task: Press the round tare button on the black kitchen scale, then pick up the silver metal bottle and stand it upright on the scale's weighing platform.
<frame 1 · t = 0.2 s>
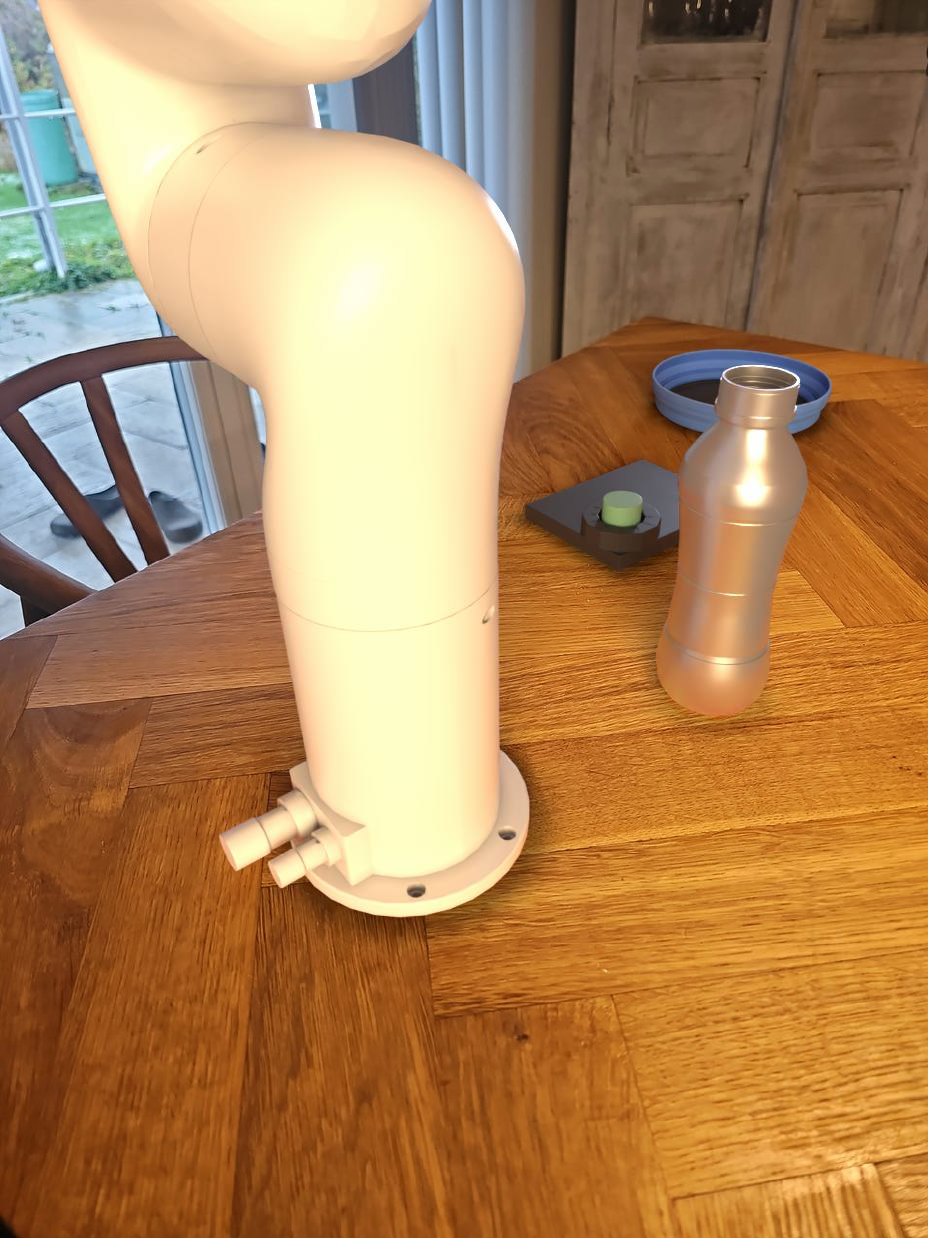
tare button: (621, 509, 65), point 4 cm above the table, slide at 0.1 cm
silver metal bottle: (705, 696, 53), on the table
scale: (631, 517, 71), on the table
bowl: (735, 410, 90), on the table
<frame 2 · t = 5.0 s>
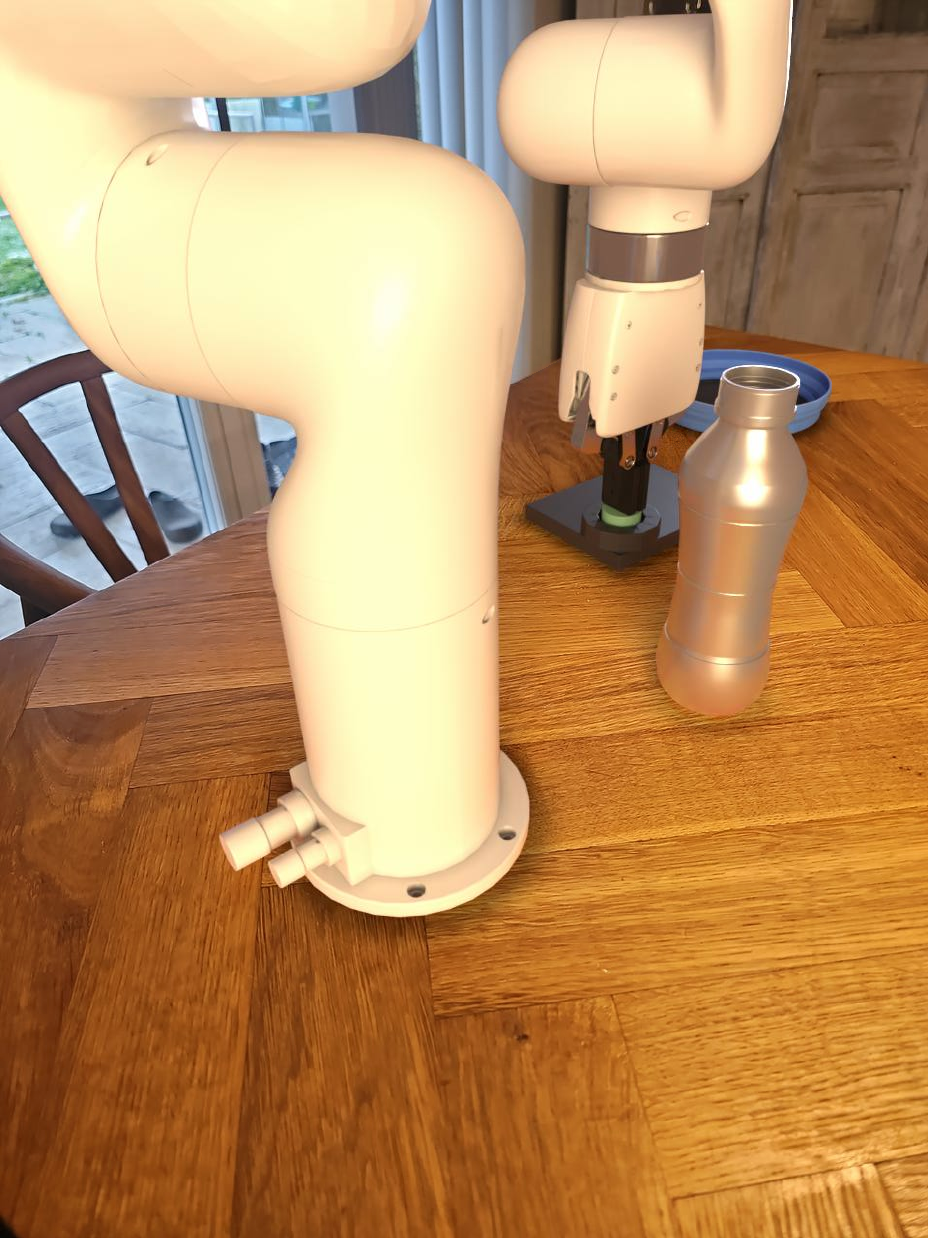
hand: (623, 506, 65), 4 cm above the table, tool pointing down, fingers closed
tare button: (621, 517, 66), point 3 cm above the table, slide at -0.6 cm, touching gripper
everything else where it was.
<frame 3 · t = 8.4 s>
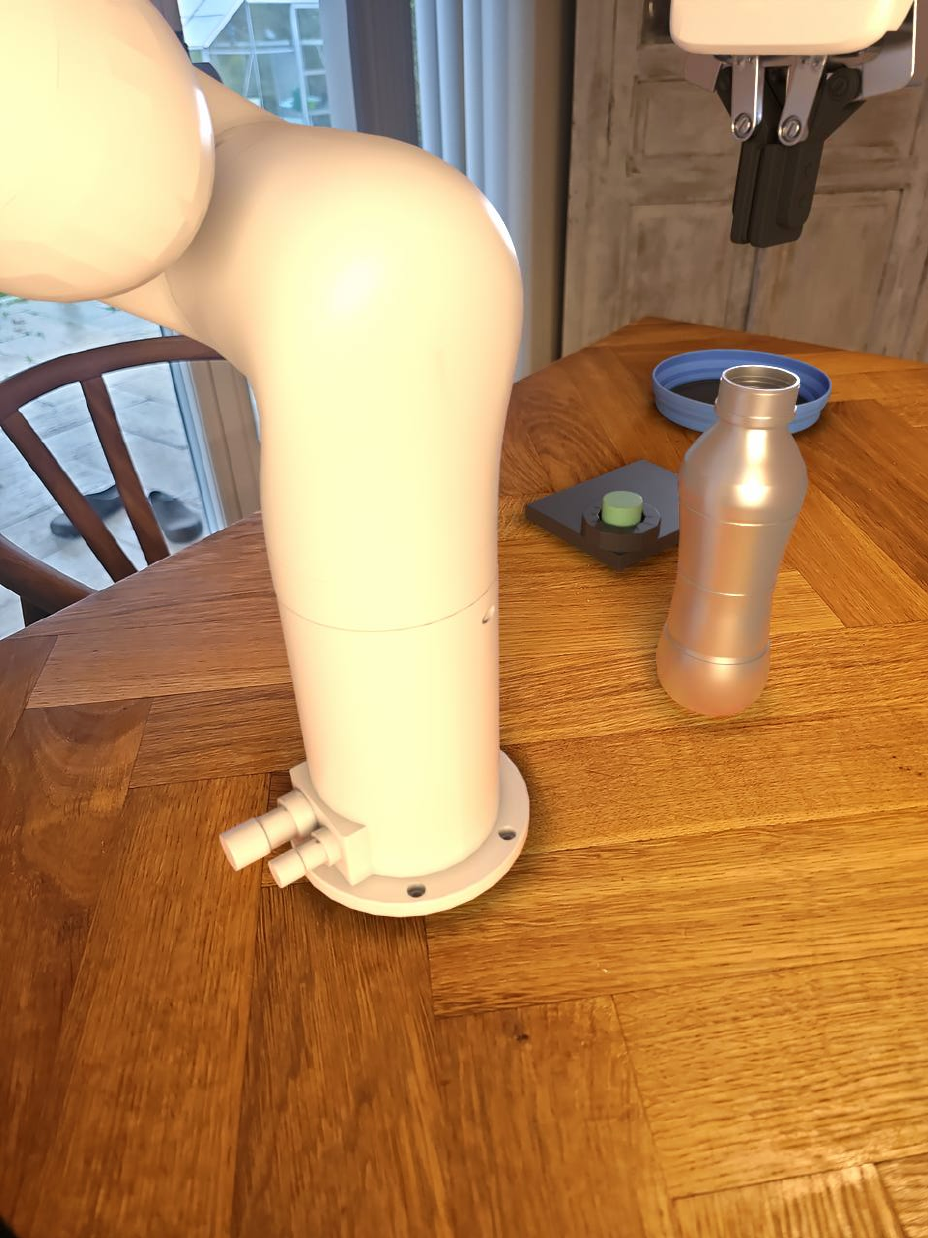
hand: (765, 240, 39), 26 cm above the table, tool pointing down, fingers closed
tare button: (621, 509, 65), point 3 cm above the table, slide at 0.1 cm
everything else where it was.
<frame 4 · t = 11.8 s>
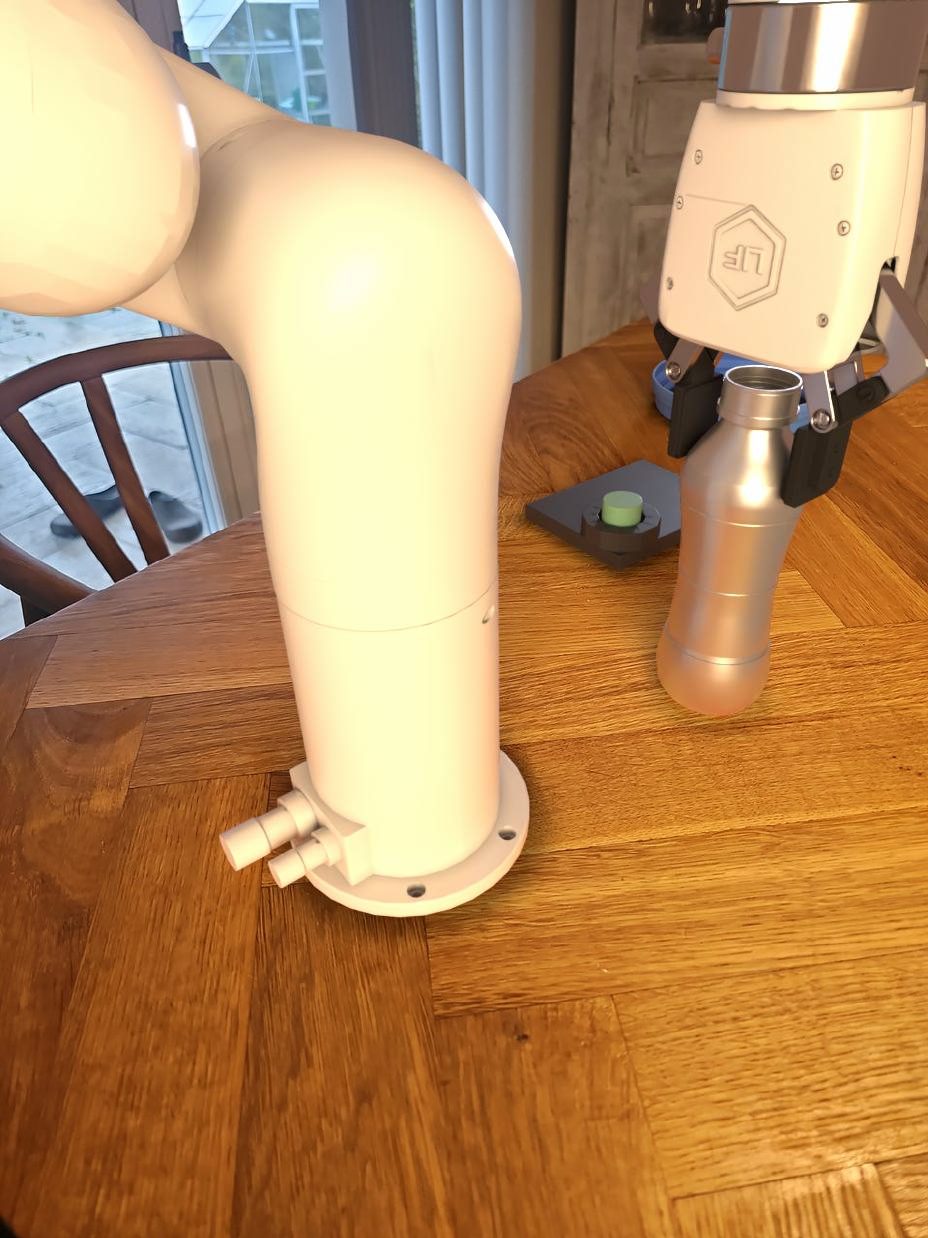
hand: (745, 470, 44), 15 cm above the table, tool pointing down, fingers closed on silver metal bottle, 6 cm apart
silver metal bottle: (705, 696, 53), on the table, touching gripper
everything else where it was.
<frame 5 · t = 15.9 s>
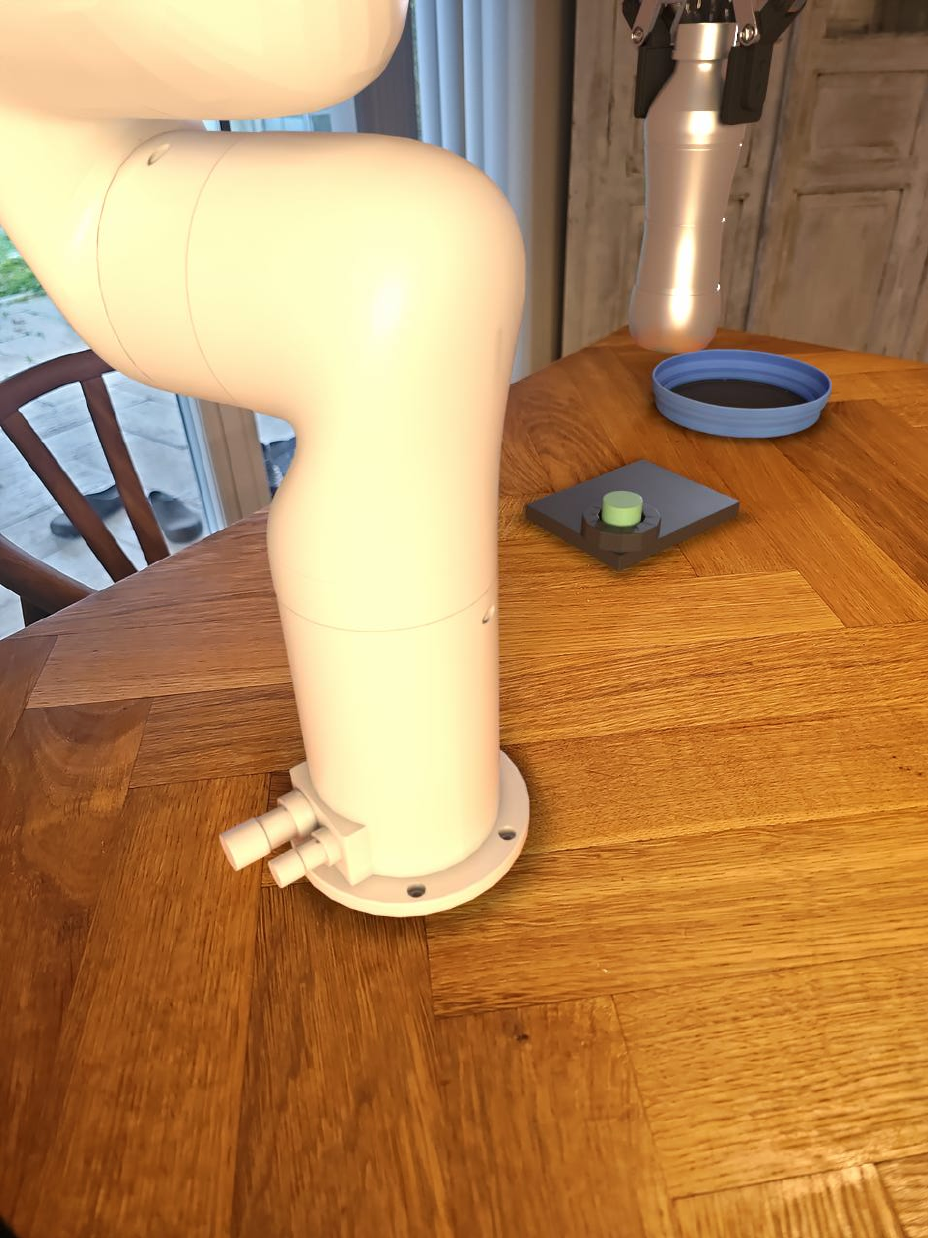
hand: (695, 116, 55), 29 cm above the table, tool pointing down, fingers closed on silver metal bottle, 6 cm apart
silver metal bottle: (668, 352, 64), point 14 cm above the table, touching gripper
everything else where it was.
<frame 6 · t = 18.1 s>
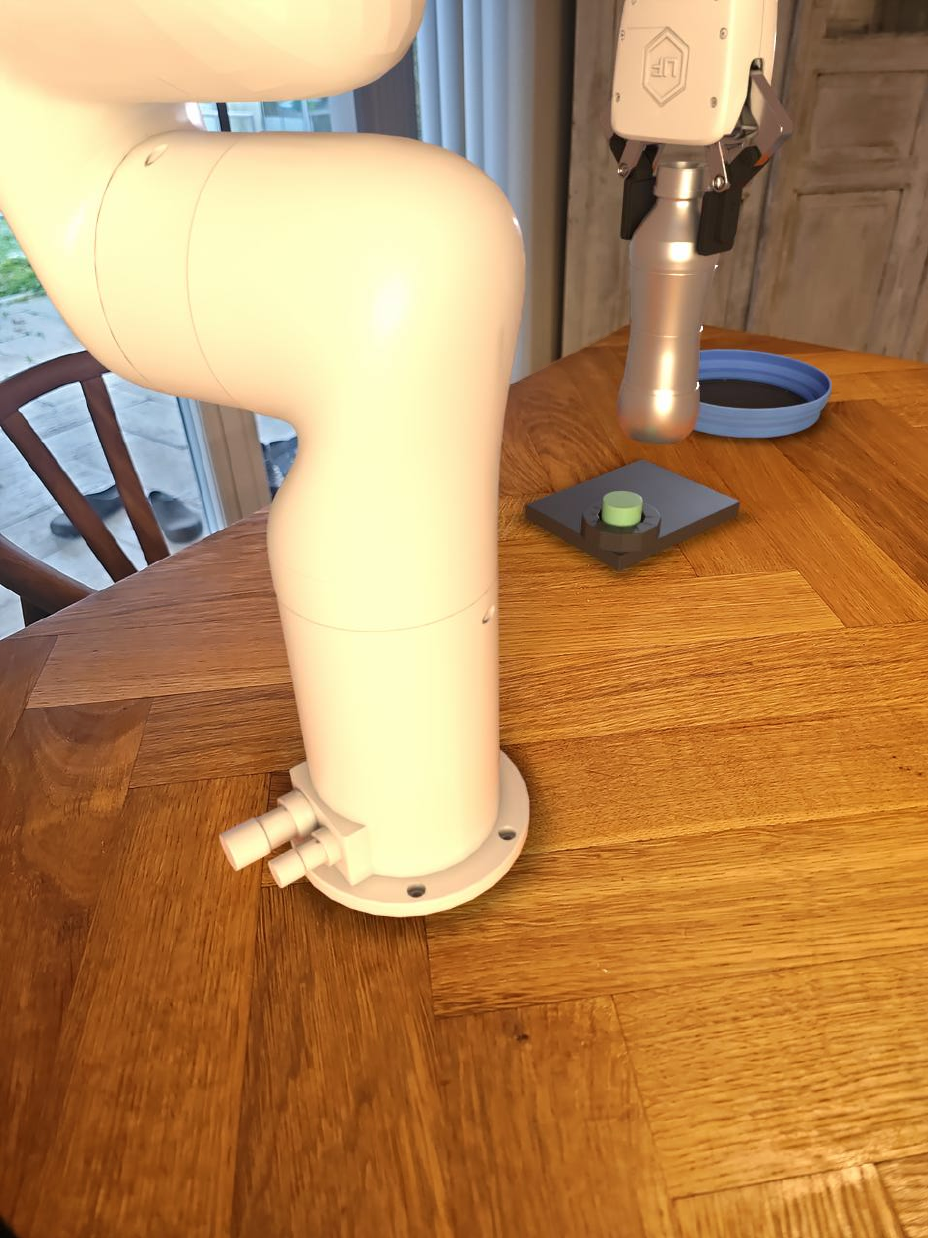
hand: (674, 242, 61), 21 cm above the table, tool pointing down, fingers closed on silver metal bottle, 6 cm apart
silver metal bottle: (653, 439, 70), point 6 cm above the table, touching gripper
everything else where it was.
when the fingers open (16 cm above the table, at t = 20.0 s): silver metal bottle stays where it is, resting on scale.
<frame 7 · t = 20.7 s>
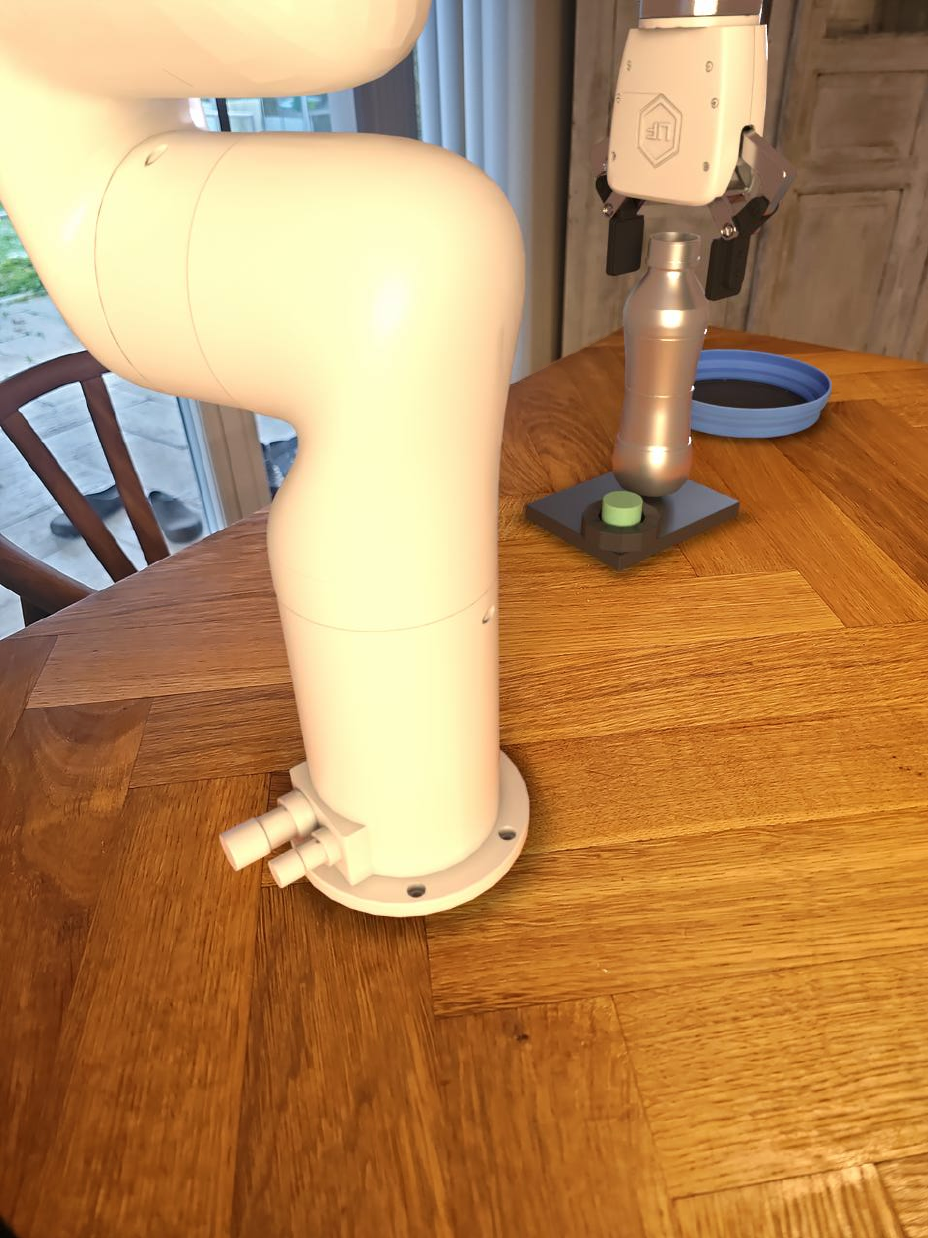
hand: (670, 284, 63), 18 cm above the table, tool pointing down, fingers open, 9 cm apart
silver metal bottle: (648, 490, 73), point 1 cm above the table, touching scale
everything else where it was.
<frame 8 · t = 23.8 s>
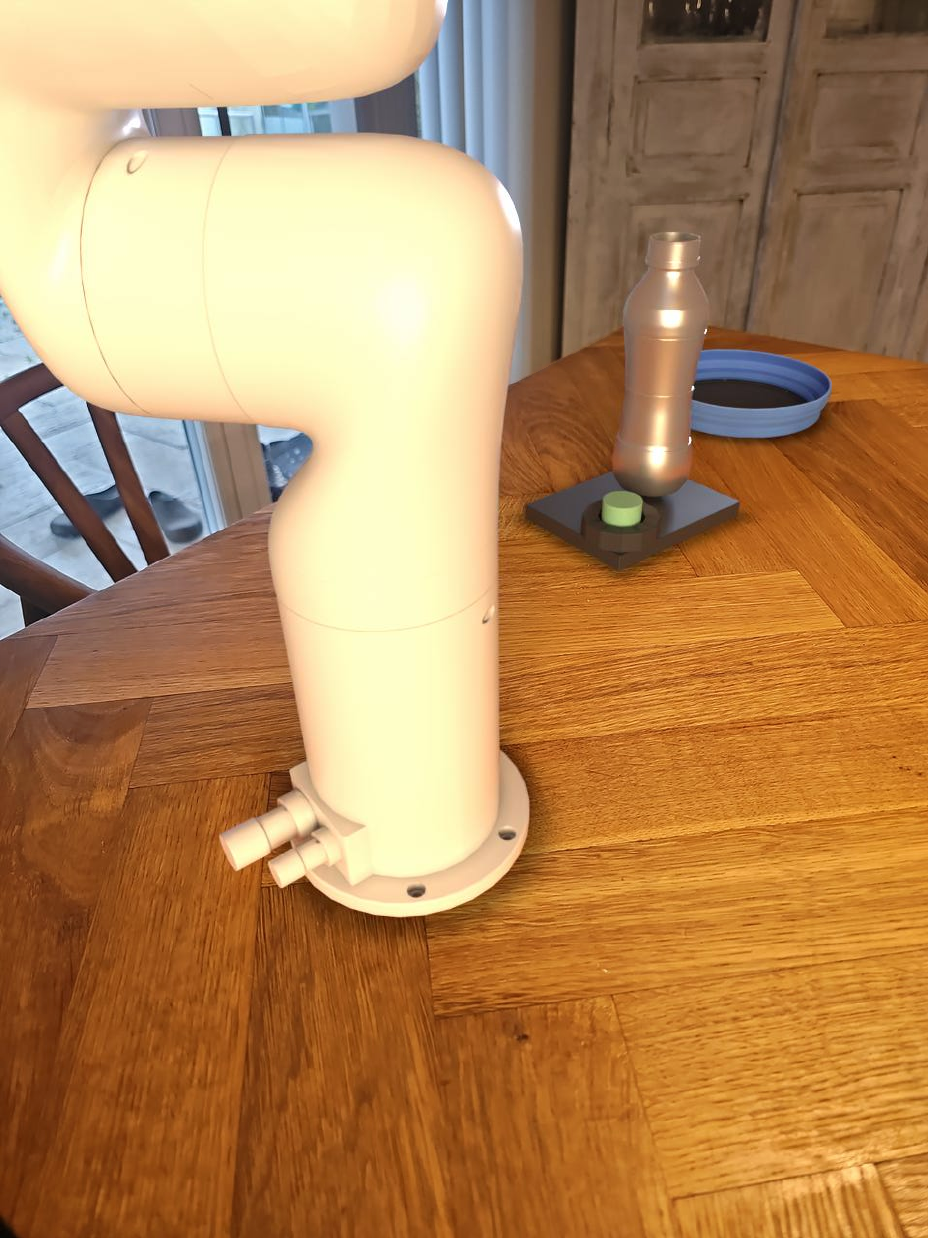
nothing on the table moved.
at the end: tare button pushed in 0.9 cm at the most during the clip, back to where it started at the end; silver metal bottle inside the target area on the scale (3.1 cm from its centre), point 1.2 cm above the scale's base; silver metal bottle touching scale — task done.
